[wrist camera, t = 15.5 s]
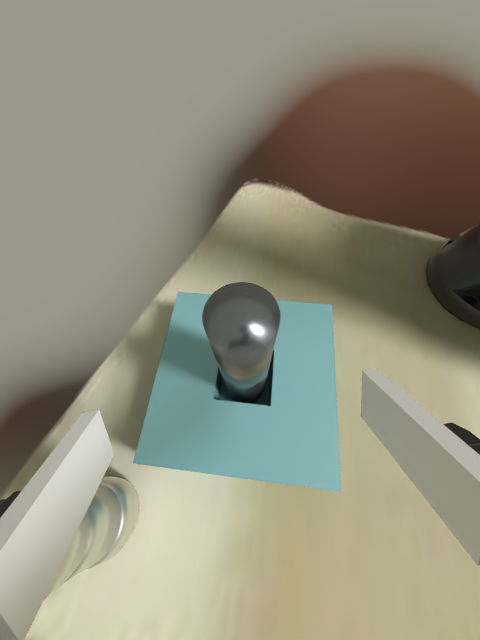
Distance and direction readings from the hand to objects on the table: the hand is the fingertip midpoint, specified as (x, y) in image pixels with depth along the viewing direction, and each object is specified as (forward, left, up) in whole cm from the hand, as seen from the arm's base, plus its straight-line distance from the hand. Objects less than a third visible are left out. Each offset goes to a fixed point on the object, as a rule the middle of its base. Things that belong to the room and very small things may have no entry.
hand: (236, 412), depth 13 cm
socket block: (0, -5, -18) cm, 19 cm away
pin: (0, -5, -17) cm, 18 cm away
